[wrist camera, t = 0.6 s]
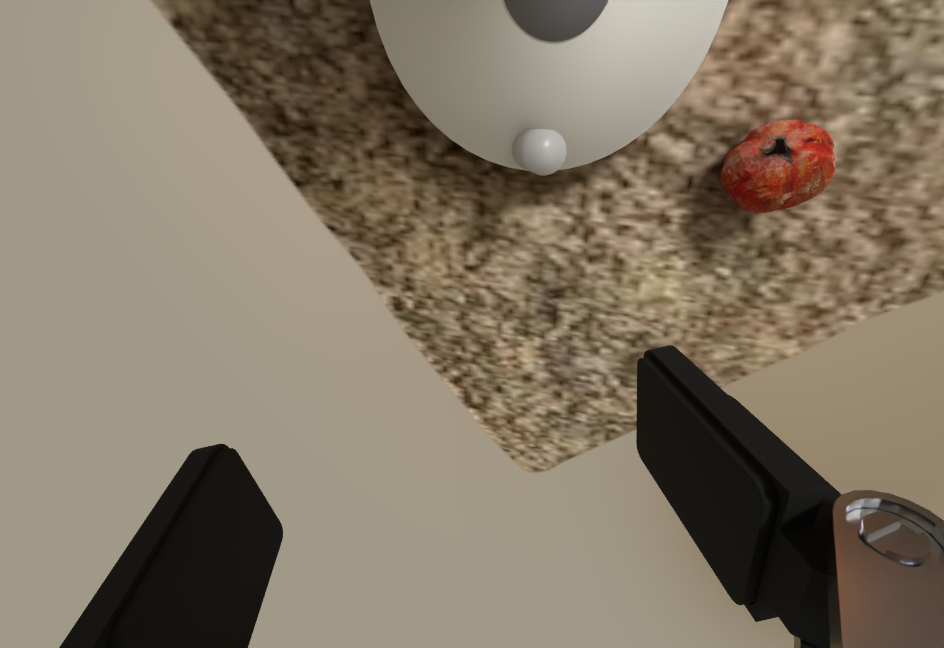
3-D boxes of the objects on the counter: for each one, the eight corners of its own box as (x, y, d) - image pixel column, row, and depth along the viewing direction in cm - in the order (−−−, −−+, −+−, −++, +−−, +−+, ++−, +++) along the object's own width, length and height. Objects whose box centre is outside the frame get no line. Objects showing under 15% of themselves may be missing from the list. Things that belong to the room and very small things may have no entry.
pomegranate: (779, 149, 39) (806, 66, 30) (837, 204, 36) (886, 128, 27) (702, 196, 41) (708, 131, 32) (752, 252, 38) (772, 195, 29)
